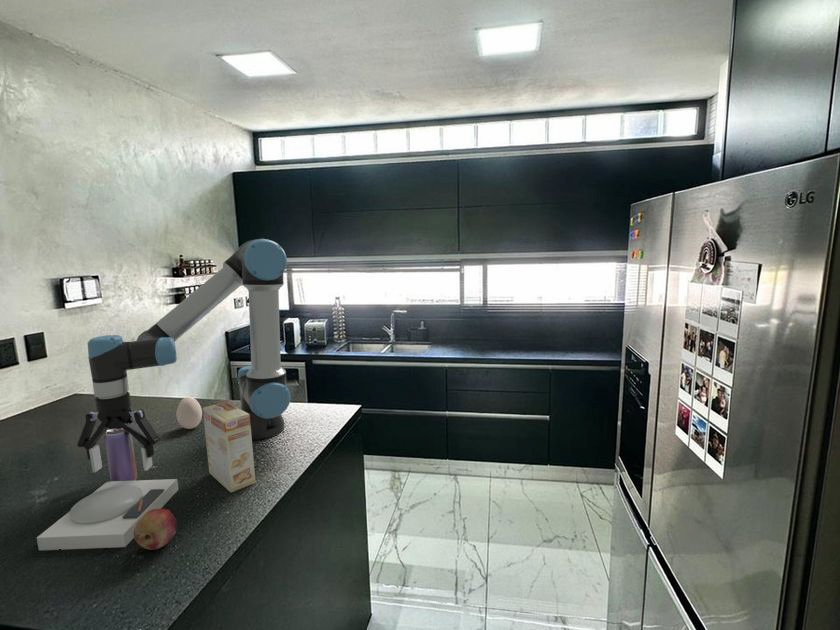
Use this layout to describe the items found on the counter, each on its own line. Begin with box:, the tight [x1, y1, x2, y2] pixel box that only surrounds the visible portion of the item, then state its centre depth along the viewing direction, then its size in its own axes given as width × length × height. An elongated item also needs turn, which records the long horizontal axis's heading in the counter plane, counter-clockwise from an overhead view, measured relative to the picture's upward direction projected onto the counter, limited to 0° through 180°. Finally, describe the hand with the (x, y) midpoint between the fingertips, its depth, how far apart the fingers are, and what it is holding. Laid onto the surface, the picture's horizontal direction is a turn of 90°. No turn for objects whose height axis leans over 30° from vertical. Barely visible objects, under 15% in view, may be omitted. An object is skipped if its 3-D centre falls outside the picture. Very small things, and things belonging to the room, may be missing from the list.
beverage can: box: [104, 428, 138, 481], centre depth 118 cm, size 6×6×15 cm
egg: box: [176, 396, 203, 430], centre depth 153 cm, size 8×8×11 cm
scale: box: [36, 478, 179, 551], centre depth 103 cm, size 18×22×4 cm
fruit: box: [133, 508, 178, 551], centre depth 92 cm, size 8×8×8 cm
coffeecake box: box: [202, 401, 257, 494], centre depth 118 cm, size 15×7×20 cm, turn 45°
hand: (123, 469), depth 119 cm, fingers open, 13 cm apart
